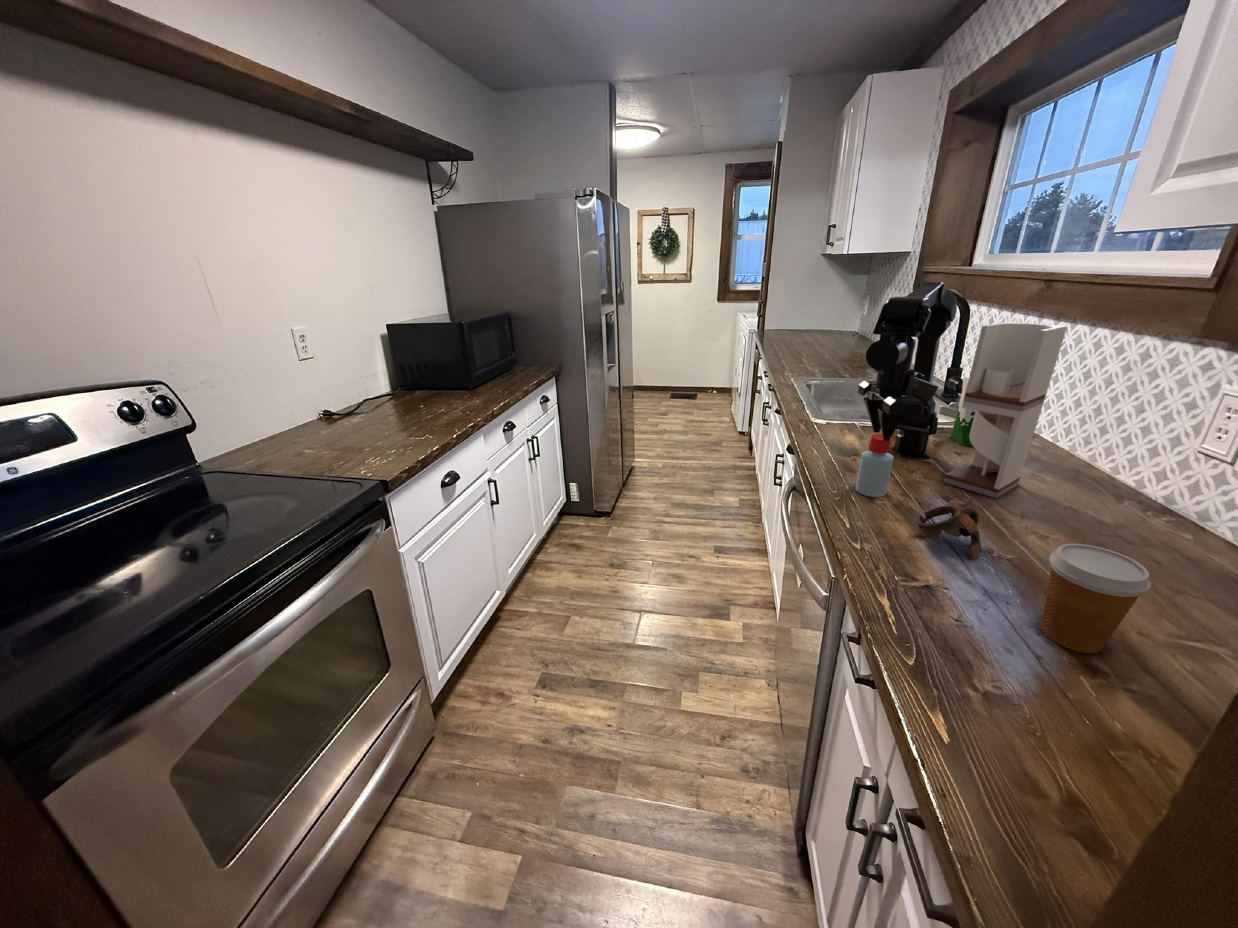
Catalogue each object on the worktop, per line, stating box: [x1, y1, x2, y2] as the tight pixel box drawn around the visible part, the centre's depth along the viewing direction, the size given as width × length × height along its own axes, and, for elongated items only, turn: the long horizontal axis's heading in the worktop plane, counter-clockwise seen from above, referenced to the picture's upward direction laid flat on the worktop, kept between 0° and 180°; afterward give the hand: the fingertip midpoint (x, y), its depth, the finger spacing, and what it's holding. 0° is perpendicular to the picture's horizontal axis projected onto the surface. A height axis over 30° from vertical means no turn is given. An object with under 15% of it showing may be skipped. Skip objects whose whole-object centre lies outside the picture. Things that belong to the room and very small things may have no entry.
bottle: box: [855, 449, 895, 498], centre depth 108 cm, size 6×6×12 cm
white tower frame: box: [942, 321, 1068, 499], centre depth 106 cm, size 11×11×35 cm
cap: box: [868, 433, 892, 454], centre depth 106 cm, size 4×4×3 cm
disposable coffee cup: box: [1040, 543, 1152, 654], centre depth 64 cm, size 10×10×12 cm
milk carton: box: [949, 375, 976, 447], centre depth 135 cm, size 9×9×20 cm
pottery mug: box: [915, 505, 982, 560], centre depth 89 cm, size 12×10×8 cm
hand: (881, 436), depth 105 cm, fingers open, 5 cm apart
